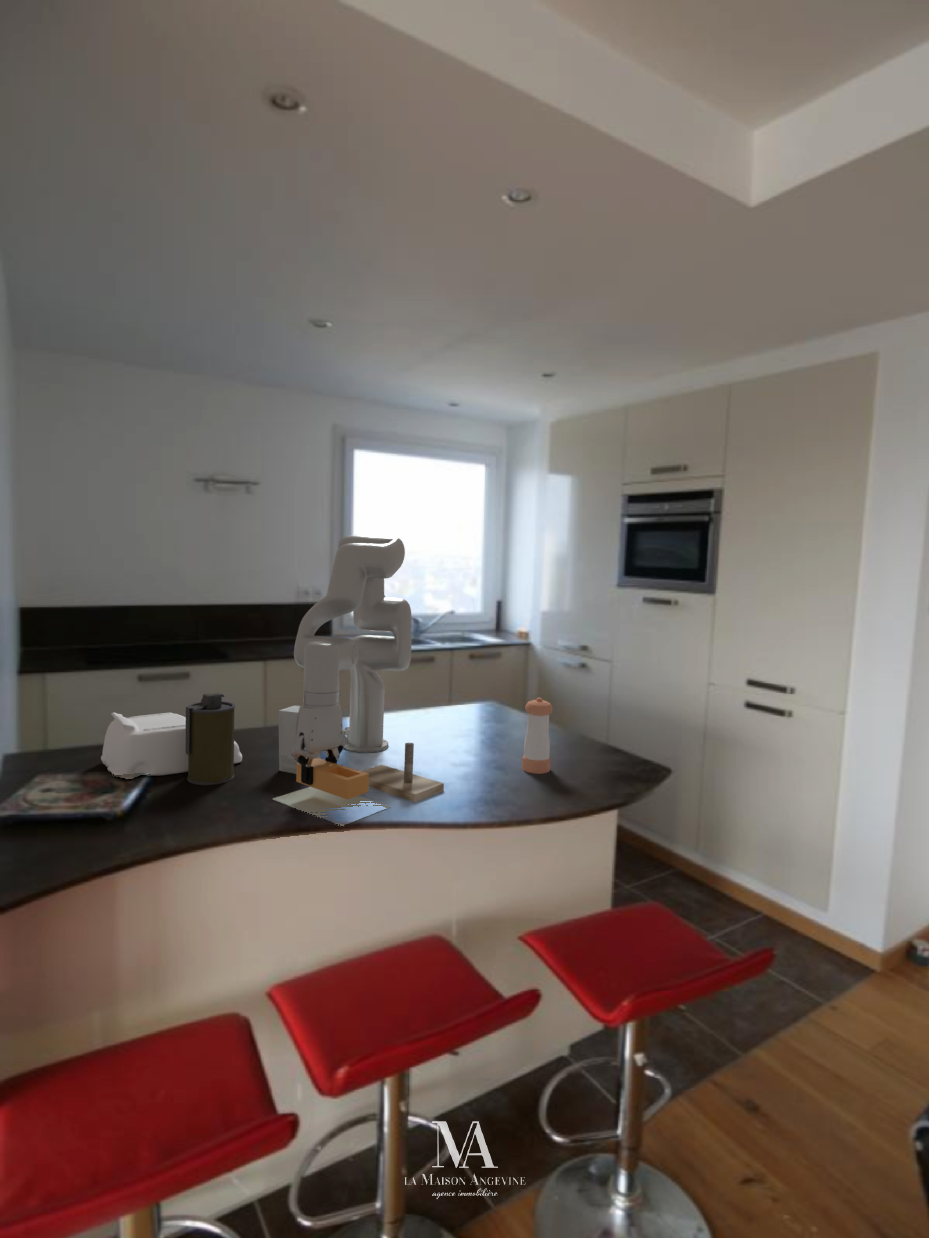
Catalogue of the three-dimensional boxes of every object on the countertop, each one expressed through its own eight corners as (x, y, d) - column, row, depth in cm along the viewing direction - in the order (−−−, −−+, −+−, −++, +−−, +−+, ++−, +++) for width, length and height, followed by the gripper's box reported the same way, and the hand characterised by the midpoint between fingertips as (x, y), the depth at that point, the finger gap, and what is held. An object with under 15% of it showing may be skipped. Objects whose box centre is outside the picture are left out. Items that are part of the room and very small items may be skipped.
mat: (272, 800, 145) (272, 798, 145) (322, 784, 156) (322, 782, 156) (342, 828, 132) (342, 826, 132) (390, 808, 143) (391, 806, 143)
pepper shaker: (515, 769, 173) (519, 697, 171) (532, 764, 178) (536, 693, 177) (538, 776, 168) (542, 702, 167) (555, 770, 174) (559, 698, 172)
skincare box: (320, 769, 167) (322, 708, 165) (304, 777, 161) (305, 713, 159) (294, 764, 170) (295, 704, 169) (276, 771, 164) (277, 709, 163)
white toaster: (97, 764, 165) (97, 710, 164) (220, 746, 184) (220, 698, 182) (113, 786, 150) (113, 728, 149) (245, 765, 169) (246, 713, 167)
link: (368, 792, 141) (368, 773, 141) (347, 799, 136) (347, 780, 136) (317, 775, 150) (318, 757, 150) (296, 781, 146) (296, 763, 145)
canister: (222, 768, 165) (223, 688, 163) (242, 779, 157) (243, 695, 155) (178, 777, 157) (178, 693, 155) (196, 789, 150) (197, 701, 148)
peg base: (351, 782, 159) (352, 736, 158) (381, 772, 167) (382, 729, 166) (415, 803, 147) (416, 754, 146) (443, 791, 155) (445, 745, 154)
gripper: (339, 690, 153) (337, 767, 155) (277, 701, 140) (275, 785, 141) (362, 695, 149) (359, 774, 150) (300, 707, 135) (298, 793, 137)
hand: (319, 779), depth 146 cm, fingers closed on link, 6 cm apart
